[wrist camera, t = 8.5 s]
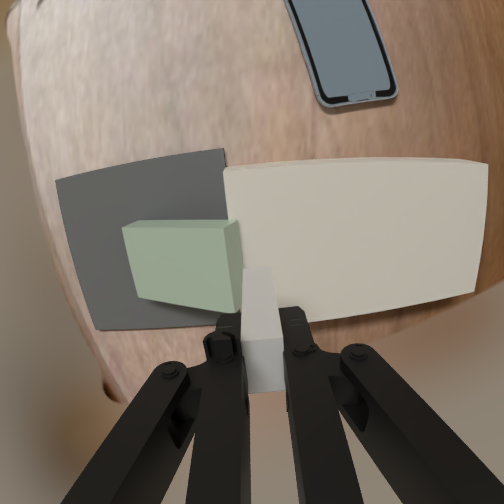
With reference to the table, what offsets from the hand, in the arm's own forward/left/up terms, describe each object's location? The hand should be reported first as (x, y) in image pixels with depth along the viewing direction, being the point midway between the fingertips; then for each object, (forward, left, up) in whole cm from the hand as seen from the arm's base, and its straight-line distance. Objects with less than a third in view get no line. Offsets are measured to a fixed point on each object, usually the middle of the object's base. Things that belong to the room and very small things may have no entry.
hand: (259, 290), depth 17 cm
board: (-9, 0, -9) cm, 13 cm away
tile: (+5, 0, -7) cm, 8 cm away
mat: (+9, 0, -9) cm, 13 cm away
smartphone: (-8, -18, -10) cm, 22 cm away
